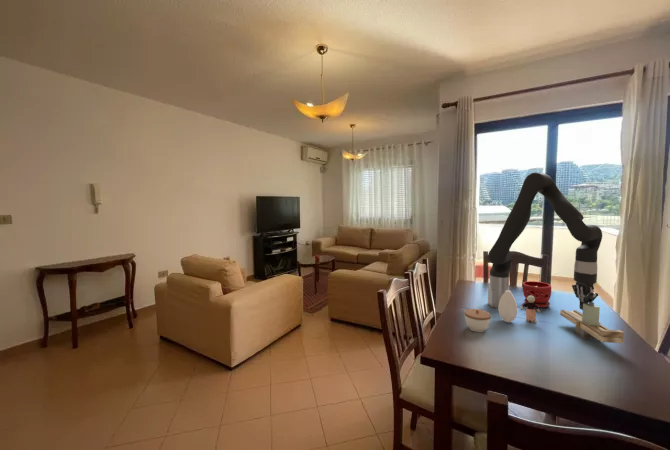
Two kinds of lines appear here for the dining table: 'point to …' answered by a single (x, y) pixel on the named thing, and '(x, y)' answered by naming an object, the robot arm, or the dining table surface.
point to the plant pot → (537, 292)
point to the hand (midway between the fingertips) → (583, 309)
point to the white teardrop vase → (507, 306)
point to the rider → (591, 314)
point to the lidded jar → (477, 319)
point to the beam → (592, 329)
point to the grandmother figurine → (530, 309)
